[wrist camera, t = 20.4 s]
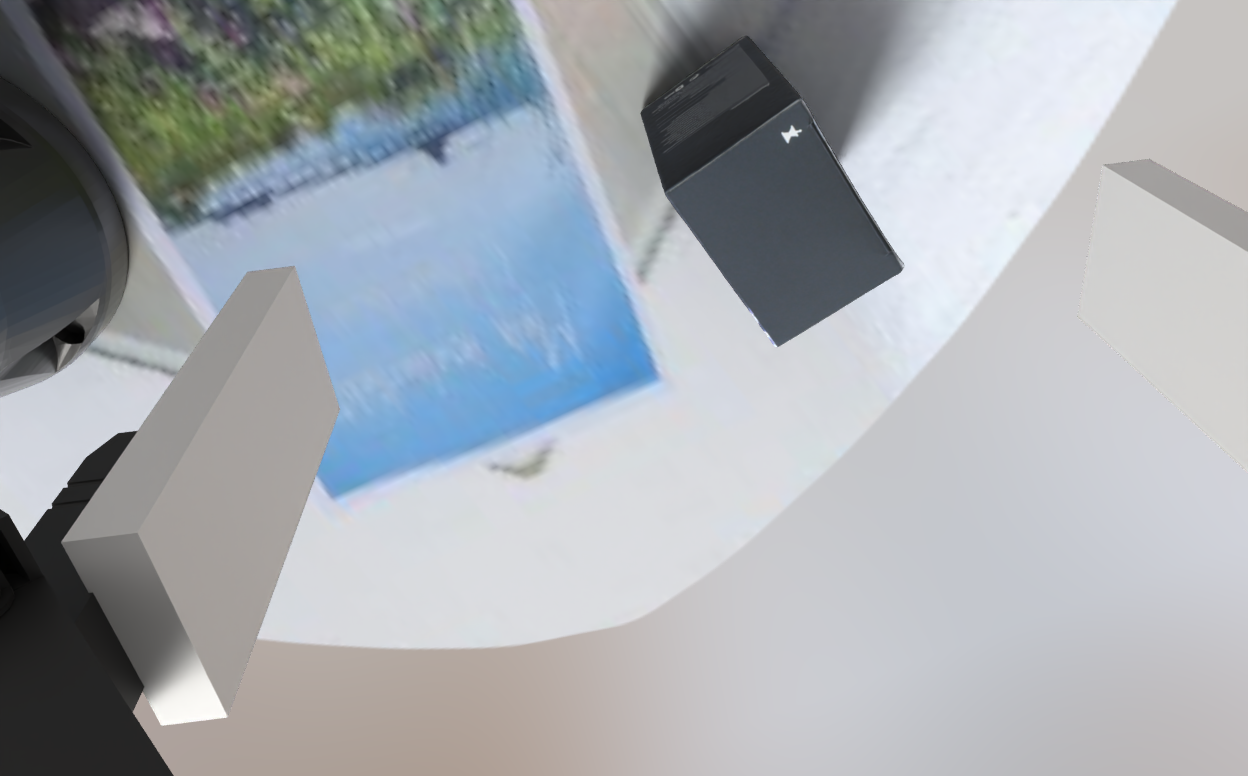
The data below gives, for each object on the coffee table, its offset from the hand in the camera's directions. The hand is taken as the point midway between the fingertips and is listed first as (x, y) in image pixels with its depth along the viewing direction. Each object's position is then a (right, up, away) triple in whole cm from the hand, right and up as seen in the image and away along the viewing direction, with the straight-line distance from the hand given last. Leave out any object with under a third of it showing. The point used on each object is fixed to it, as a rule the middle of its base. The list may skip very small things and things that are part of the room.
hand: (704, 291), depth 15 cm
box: (+4, +9, +26) cm, 28 cm away
